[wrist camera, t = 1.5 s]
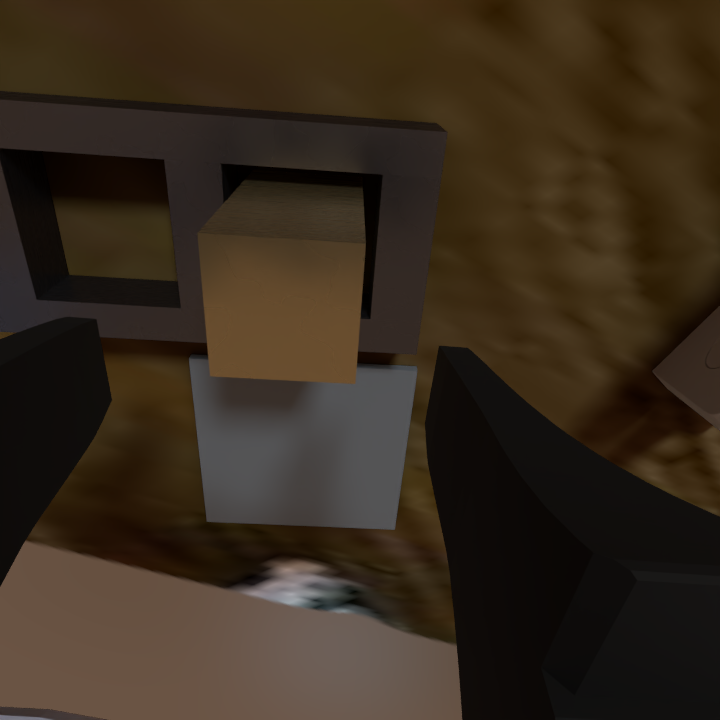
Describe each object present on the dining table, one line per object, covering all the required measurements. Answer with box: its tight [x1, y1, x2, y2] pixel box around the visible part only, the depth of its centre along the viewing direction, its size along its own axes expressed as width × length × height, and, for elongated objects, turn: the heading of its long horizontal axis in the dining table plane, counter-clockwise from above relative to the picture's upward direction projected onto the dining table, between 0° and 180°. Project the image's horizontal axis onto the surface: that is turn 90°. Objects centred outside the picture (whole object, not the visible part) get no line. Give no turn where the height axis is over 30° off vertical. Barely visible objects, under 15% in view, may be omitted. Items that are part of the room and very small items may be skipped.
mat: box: [189, 354, 417, 530], centre depth 26 cm, size 10×10×1 cm
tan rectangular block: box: [197, 169, 366, 384], centre depth 17 cm, size 4×4×8 cm
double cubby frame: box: [0, 91, 447, 355], centre depth 19 cm, size 16×8×2 cm, turn 86°
